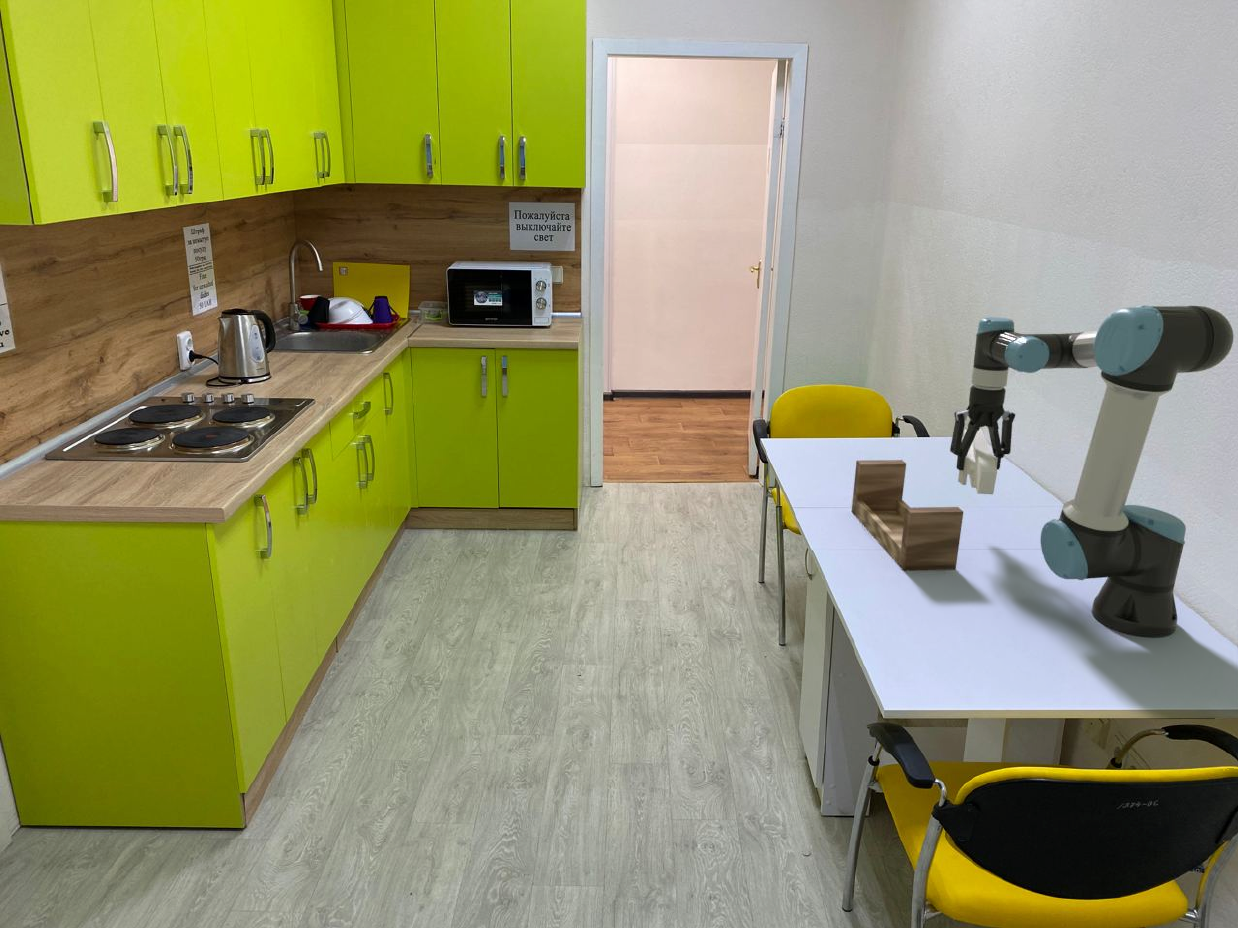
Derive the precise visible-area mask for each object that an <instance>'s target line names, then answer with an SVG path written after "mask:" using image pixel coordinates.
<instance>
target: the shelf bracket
mask: <svg viewBox="0 0 1238 928" xmlns="http://www.w3.org/2000/svg"><path fill="white" fill-rule="evenodd" d="M981 428H982V427H980V429H979V431H977V433H976V435H975V438H974V440H973V442H972V444H971V447H970V449H969V451H968V453H967V457H968V458H969V464H968V473H967V475H968V477H969V478H968V479H969V483H970V487H971V488H975V490H976V493H977V494H981V495H982V494H983V495H994V491H995V486H996V480H997V473H998V470H997V467H996V464H995V461H994V458H993V456H992V455H993V452H992V450H991V447H990V445H989V443H988V441H987V439H986V437H985V435H984V432H983V430H982V429H981ZM966 431H967V429H964V431H963V437H962V439H963V438H964V435H965V433H966Z"/></svg>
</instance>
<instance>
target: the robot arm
mask: <svg viewBox="0 0 1238 928" xmlns="http://www.w3.org/2000/svg"><path fill="white" fill-rule="evenodd" d="M975 336H976V338H975V347H974V356H973V366H972V374H971V382H970V383H971V384H972V385H971V386H970V389H969V398H968V406H967V408H966V409H965V410H962V411H958V410H956V411H955V412H954V413H953V415H954V421H955V422H954V427H953V433H952V437H951V443H950V448H949V451H950V453H951V454H953V455H955V456H956V457H957V460H956V469H957V470H958V479H957V481H958V483H959V484H961V485H962V486H966V485H967V481H968V474H967V473H968V464H969V458H968V457H967V453H968V451H969V449H970V447H971V444H972V442H973V440H974V438H975V435H976V433H977V431H979V429H980V428H983V427H987V429H988V434H989V439H990V444H991V449H992V450H991V451H992V456H993V458H994V461H995V464H996V467H997V471H999V470H1000V469H1001V463H1002V459H1003V458H1004V457H1005V455H1010V454H1011V450H1012V435H1013V434H1012V433H1013V422H1014V420H1015V418H1016V413H1014V412H1012V411H1010V410H1005V408H1004V403H1005V398H1006V388H1005V387H1006V386H1007V383H1008V376H1009V375H1008V373H1009V368H1010V369H1012V370H1014V371H1017V372H1020V373H1027V374H1032V373H1034V374H1035V373H1036V372H1038V371H1040V370H1048V369H1050V370H1051V369H1089V368H1095V367H1098V368H1099V370H1101V372H1100V378H1101V379H1102V380H1103V382H1104V383H1105V385H1106V389H1105V390H1104V395H1103V399H1102V401H1101V404H1100V405H1101V406H1100V409H1099V410H1098V411H1099V412H1098V414H1097V415H1098V416H1097V419H1096V423H1095V426H1094V429H1093V433H1092V435H1091V436H1092V437H1091V440H1090V443H1089V445H1088V446H1089V447H1088V450H1087V453H1086V457H1085V460H1084V464H1083V468H1082V471H1081V474H1080V477H1079V481H1078V484H1077V487H1076V490H1075V491H1076V492H1075V493H1074V498H1073V499H1070V500H1068V501H1066V502H1065V503H1063V505H1062V508H1061V511H1060V515H1059V518H1058V519H1055V518H1053V519H1051V520H1049V521H1048V522H1045V524H1044V525H1043V527H1042V528H1041V529H1042V530H1041V532H1040V548H1041V552H1042V553H1041V554H1042V555H1043V559H1044V561H1045V563H1046V564H1047V567H1048V568H1049V570H1051V572H1052V573H1053V574H1055V575H1056V576H1057V577H1059V578H1061V579H1064V580H1078V581H1084V580H1085V579H1086V580H1088V579H1103V578H1106V579H1105V582H1104V583H1103V585H1102V586H1101V588H1100V590H1099V592H1098V594H1097V595H1096V596H1095V598H1094V599H1093V602H1092V608H1091V614H1092V615H1093V617H1094V619H1096V620H1097V621H1098V622H1100V623H1101V624H1103V625H1104V626H1106V627H1109V628H1111V629H1113V630H1115V631H1118V632H1122V633H1125V634H1127V635H1128V634H1129V635H1135V636H1139V637H1148V638H1149V637H1150V638H1159V637H1160V638H1161V637H1165V636H1169V635H1171V634H1173V633H1174V632H1175V631H1176V628H1177V623H1178V615H1177V608H1176V602H1175V594H1174V589H1175V584H1176V581H1177V580H1176V579H1177V574H1178V570H1179V567H1180V562H1181V558H1182V553H1183V549H1184V545H1185V543H1186V541H1185V536H1186V529H1187V528H1186V524H1185V523H1184V522H1183V520H1181V518H1179V517H1177V516H1175V515H1173V514H1171V513H1169V512H1166V511H1164V510H1160V509H1158V508H1157V509H1156V508H1153V507H1149V506H1145V505H1138V504H1137V505H1136V504H1127V505H1126V503H1127V500H1128V499H1127V498H1128V497H1129V493H1130V490H1131V486H1132V483H1133V480H1134V478H1135V474H1136V471H1137V468H1138V464H1139V461H1140V458H1141V455H1142V453H1143V449H1144V445H1145V443H1146V440H1147V436H1148V434H1149V430H1150V427H1151V424H1152V421H1153V418H1154V414H1155V411H1156V408H1157V405H1158V403H1159V399H1160V397H1161V396H1163V395H1165V394H1167V393H1169V392H1171V391H1172V389H1173V386H1174V384H1175V381H1176V377H1177V375H1178V374H1183V373H1186V374H1187V373H1198V372H1203V371H1207V370H1209V369H1212V368H1214V367H1215V366H1217V365H1219V364H1220V363H1221V362H1222V361H1224V360H1225V359H1226V357H1227V356H1228V355H1229V354H1230V351H1231V350H1232V348H1233V343H1234V338H1235V337H1234V331H1233V327H1232V325H1231V323H1230V321H1229V320H1228V318H1226V316H1225V315H1223V314H1222V313H1220V312H1219V311H1217V310H1216V309H1213V308H1211V307H1207V306H1202V305H1187V306H1186V305H1183V306H1182V305H1177V306H1176V305H1174V306H1171V305H1170V306H1158V305H1157V306H1151V305H1139V306H1138V305H1137V306H1133V307H1131V306H1130V307H1124V308H1121V309H1118V310H1116V311H1114V312H1113V313H1111V314H1109V316H1107V317H1106V318H1105V319H1104V320H1103V322H1102V323H1101V324H1100V325H1099V328H1098V330H1092V331H1091V330H1089V331H1081V332H1071V333H1067V332H1066V333H1020V332H1019V333H1018V332H1017V331H1016V332H1015V322H1014V320H1013V319H1009V318H1006V317H998V316H997V317H996V316H995V317H993V316H992V317H983V318H981V319H980V320H979V322H978V328H977V333H976V335H975ZM967 417H968V418H969V422H968V423H967V429H966V430H967V431H966V433H965V435H964V430H965V426H966V421H967ZM1000 419H1002V421H1001V435H1000V433H999V429H1000V428H999V423H998V421H999V420H1000ZM963 436H964V438H963ZM1000 436H1001V437H1000Z"/></svg>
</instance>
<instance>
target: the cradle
mask: <svg viewBox="0 0 1238 928" xmlns="http://www.w3.org/2000/svg"><path fill="white" fill-rule="evenodd" d="M906 470H907V463H906V462H905V461H904V460H903V459H885V460H884V459H883V460H881V459H880V460H879V459H878V460H877V459H876V460H873V459H871V460H870V459H869V460H868V459H866V460H856V463H855V473H854V482H853V492H852V504H851V513H852V514H853V515H854V516H855V518H856V519H858V521H859V522H860V523H861V524H862V526H863V527H864V528H865V529H866V530H867V532H868V533H870V535H871V536H872V537H873V538H874V540H876V541H877V543H878V544H879V545H880V546H881V547H882V548H883V549H884V550H885V551H886V553H887V554H888V556H889V557H891V559H892V560H894V562H895V563H896V564H897V565H898V566H899V568H901V570H902V571H903V572H914V571H915V572H917V571H919V572H921V571H922V572H923V571H925V572H926V571H956V568H957V563H958V562H957V561H958V555H959V554H958V553H959V549H960V548H959V547H960V539H961V534H962V533H961V532H962V525H963V518H964V510H962V509H961V508H960V507H959V506H937V507H935V506H934V507H933V506H931V507H929V506H928V507H926V506H925V507H924V506H921V507H919V506H918V507H910V506H909V505H908V504H907V503H906V502H905V501H904V500H903V495H904V486H905V478H906Z"/></svg>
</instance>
